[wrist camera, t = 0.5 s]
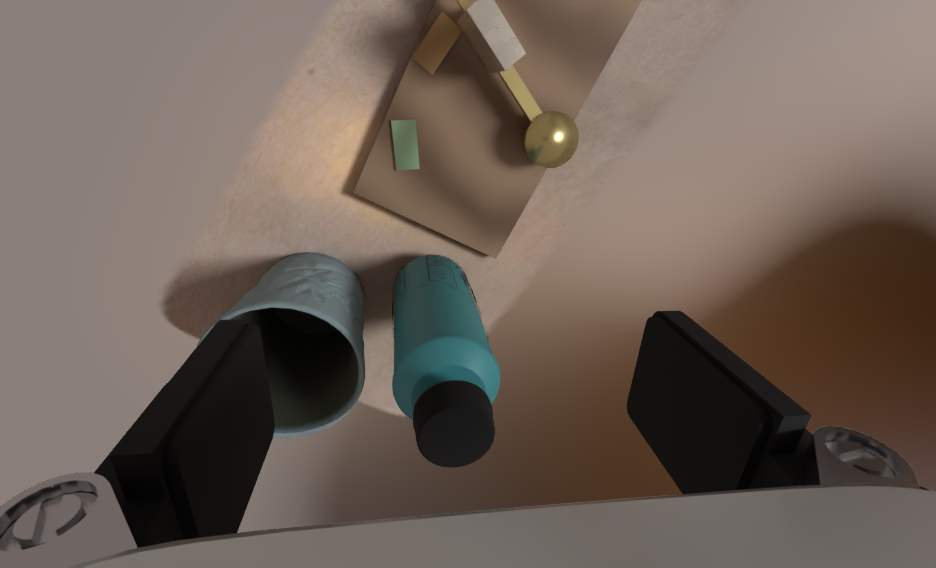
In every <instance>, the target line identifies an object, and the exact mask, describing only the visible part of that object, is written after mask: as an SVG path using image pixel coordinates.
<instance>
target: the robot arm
mask: <svg viewBox="0 0 936 568" xmlns="http://www.w3.org/2000/svg"><path fill="white" fill-rule="evenodd" d="M627 411H628V414H629V416H630V418H631V420H632V421H633V422H634V424H635V425H636V427H637V428H638V430H639V431H640V433H641V434H642V436H643V437H644V439H645V440H646V441H647V443H648V444H649V446H650V447H651V449H652V450H653V452H654V453H655V454H656V456H657V457H658V459H659V460H660V462H661V463H662V465H663V466H664V467H665V469H666V470H667V472H668V473H669V475H670V476H671V477H672V479H673V480H674V482H675V483H676V485H677V486H678V488H679V489H680V490H681V492H682V494H679V495H667V496H655V497H654V496H653V497H640V498H627V499H615V500H602V501H590V502H578V503H566V504H553V505H541V506H529V507H518V508H507V509H494V510H483V511H470V512H458V513H449V514H436V515H425V516H413V517H403V518H392V519H380V520H369V521H357V522H346V523H335V524H324V525H313V526H302V527H291V528H280V529H269V530H259V531H250V532H242V533H237V531H238V529H239V526H240V523H241V521H242V518H243V515H244V513H245V510H246V508H247V505H248V502H249V499H250V497H251V494H252V492H253V489H254V486H255V484H256V481H257V478H258V476H259V473H260V470H261V468H262V465H263V462H264V460H265V457H266V454H267V452H268V449H269V446H270V444H271V441H272V439H273V435H274V430H275V419H274V413H273V406H272V400H271V394H270V388H269V382H268V375H267V369H266V363H265V357H264V351H263V344H262V338H261V332H260V328H259V326H257V325H251V323H250V321H249V320H248V319H232V320H219V321H218V322H217V323H216V324H215V325H214V327H213V328H212V329H211V330H210V332H209V333H208V334H207V335H206V336H205V338H204V339H203V340H202V341H201V343H200V344H199V345H198V346H197V348H196V349H195V350H194V351H193V353H192V354H191V355H190V356H189V358H188V359H187V360H186V361H185V363H184V364H183V365H182V366H181V368H180V369H179V370H178V371H177V373H176V374H175V375H174V376H173V378H172V379H171V380H170V381H169V382H168V383H167V384H166V385H165V386H164V387H163V388H162V389H161V391H160V392H159V393H158V394H157V396H156V397H155V398H154V399H153V401H152V402H151V403H150V404H149V406H148V407H147V408H146V409H145V411H144V412H143V413H142V414H141V416H140V417H139V418H138V419H137V421H136V422H135V423H134V424H133V425H132V427H131V428H130V429H129V430H128V431H127V433H126V434H125V435H124V436H123V438H122V439H121V440H120V441H119V443H118V444H117V445H116V446H115V448H114V449H113V450H112V451H111V452H110V454H109V455H108V456H107V457H106V459H105V460H104V461H103V462H102V464H101V465H100V466H99V467H98V469H97V470H96V471H95V472H94V473H74V474H68V475H64V476H59V477H56V478H53V479H50V480H47V481H45V482H42V483H39V484H37V485H35V486H33V487H31V488H29V489H27V490H25V491H23V492H21V493H19V494H18V495H16V496H15V497H13V498H12V499H10V500H9V501H7V502H6V503H5V504H3V505H2V506H0V568H936V491H931V490H928V489H926V488H923V487H920V486H919V484H918V481H917V479H916V476H915V474H914V471H913V469H912V468H911V466H910V465H909V463H908V462H907V461H906V460H905V459H904V458H903V457H902V456H901V455H900V454H898V453H897V452H896V451H894V450H893V449H891V448H890V447H889V446H887V445H886V444H884V443H882V442H880V441H878V440H876V439H874V438H872V437H871V436H868V435H866V434H863V433H860V432H858V431H855V430H851V429H847V428H843V427H837V426H824V427H820V428H818V429H817V430H816V431H815V432H814V434H813V435H812V434H811V433H810V432H808V431H807V430H806V429H805V428H806V426H807V423H808V421H809V419H810V417H811V414H809V413H808V412H807V411H806V410H804V409H803V408H802V407H801V406H799V405H798V404H797V403H796V402H794V401H793V400H792V399H791V398H789V397H788V396H787V395H786V394H784V393H783V392H782V391H780V390H779V389H778V388H777V387H776V386H774V385H773V384H772V383H771V382H769V381H768V380H767V379H766V378H764V377H763V376H762V375H761V374H759V373H758V372H757V371H756V370H754V369H753V368H752V367H751V366H749V365H748V364H747V363H746V362H744V361H743V360H742V359H741V358H739V357H738V356H737V355H736V354H734V353H733V352H732V351H731V350H729V349H728V348H727V347H725V346H724V345H723V344H722V343H720V342H719V341H718V340H717V339H716V338H714V337H713V336H711V335H710V334H709V333H708V332H707V331H705V330H704V329H703V328H702V327H701V326H699V325H698V324H697V323H696V322H694V321H693V320H692V319H690V318H689V317H688V316H687V315H685V314H684V313H683V312H681V311H657V312H656V313H654V315H653V316H652V317H650V318H648V320H647V322H646V326H645V330H644V334H643V338H642V342H641V346H640V350H639V355H638V359H637V363H636V367H635V371H634V375H633V380H632V384H631V388H630V393H629V396H628V401H627Z"/></svg>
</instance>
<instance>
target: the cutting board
mask: <svg viewBox="0 0 936 568" xmlns="http://www.w3.org/2000/svg"><path fill="white" fill-rule="evenodd" d="M467 1H468V2H469V4H470V6H471V5H473V4H474V3H475V2H476V1H477V0H467ZM494 1H495V2H496V4H497V6H498V7H499V9H500V11H501V12H502V14H503V16H504V17H505V19H506V21H507V22H508V24H509V26H510V27H511V29H512V30H513V32H514V34H515V35H516V37H517V39H518V40H519V42H520V44H521V45H522V47H523V49H524V50H525V52H526V54H525V55H524V56H522V57H521V58H520V59H519V60H518V61H516V62H515V63H514V64H513V66H514V68H515V70H516V71H517V73H518V74H519V76H520V78H521V79H522V81H523V82H524V84H525V86H526V87H527V89H528V90H529V92H530V94H531V95H532V97H533V98H534V100H535V102H536V103H537V105H538V106H539V108H540V110H541V111H542V112H545V111H557V112H562V113H564V114H566V115H568V116H569V117H570V118H571V119H572V120H573V121H574V120H575V118H576V116H577V114H578V112H579V111H580V109H581V107H582V105H583V104H584V102H585V100H586V98H587V96H588V95H589V93H590V91H591V89H592V88H593V86H594V84H595V82H596V81H597V79H598V77H599V75H600V73H601V72H602V70H603V68H604V66H605V65H606V63H607V61H608V59H609V57H610V56H611V54H612V52H613V50H614V49H615V47H616V45H617V43H618V42H619V40H620V38H621V36H622V34H623V33H624V31H625V29H626V27H627V26H628V24H629V22H630V20H631V18H632V17H633V15H634V13H635V11H636V10H637V8H638V6H639V4H640V3H641V1H642V0H494ZM463 14H464V13H463V11H462V9H461V8H460V6H459V5H458V3H457V2H456V0H435V2H434V5H433V7H432V9H431V12H430V14H429V16H428V19H427V21H426V23H425V26H424V28H423V30H422V33H421V35H420V37H419V40H418V42H417V44H416V47H415V49H414V51H413V54H412V56H411V58H410V61H409V63H408V65H407V68H406V70H405V72H404V75H403V77H402V79H401V82H400V84H399V86H398V89H397V91H396V93H395V96H394V98H393V100H392V103H391V105H390V107H389V110H388V112H387V115H386V117H385V119H384V122H383V124H382V126H381V129H380V131H379V133H378V136H377V138H376V140H375V143H374V145H373V147H372V150H371V152H370V154H369V157H368V159H367V161H366V164H365V166H364V168H363V171H362V173H361V175H360V178H359V180H358V182H357V185H356V187H355V189H354V192H353V193H354V194H357V195H359V196H361V197H363V198H365V199H367V200H370V201H372V202H374V203H376V204H378V205H380V206H383V207H385V208H387V209H389V210H391V211H393V212H396V213H398V214H400V215H402V216H404V217H406V218H409V219H411V220H413V221H415V222H417V223H419V224H422V225H424V226H426V227H428V228H430V229H432V230H435V231H437V232H439V233H441V234H443V235H445V236H448V237H450V238H452V239H454V240H456V241H458V242H461V243H463V244H465V245H467V246H469V247H471V248H474V249H476V250H478V251H480V252H482V253H484V254H487V255H489V256H491V257H493V258H495V259H496V258H497V256H498V254H499V252H500V251H501V249H502V247H503V245H504V244H505V242H506V240H507V238H508V237H509V235H510V233H511V231H512V229H513V228H514V226H515V224H516V222H517V221H518V219H519V217H520V215H521V213H522V212H523V210H524V208H525V206H526V205H527V203H528V201H529V199H530V198H531V196H532V194H533V192H534V190H535V189H536V187H537V185H538V183H539V182H540V180H541V178H542V176H543V174H544V173H545V171H546V169H547V168H546V167H542V166H540V165H538V164H536V163H534V162H533V161H531V160H530V159H529V158H528V156H527V155H526V153H525V151H524V147H523V134H524V131H525V128H526V126H527V124H528V123H529V121H528V119H527V118H526V116H525V114H524V113H523V111H522V110H521V108H520V107H519V105H518V104H517V102H516V100H515V99H514V97H513V96H512V94H511V93H510V91H509V90H508V88H507V87H506V85H505V83H504V82H503V80H502V79H501V77H500V76H499V74H498V73H492V74H490V72H489V71H488V69H487V68H486V66H485V65H484V63H483V61H482V60H481V58H480V57H479V55H478V54H477V52H476V51H475V49H474V48H473V46H472V45H471V43H470V42H469V40H468V39H467V37H466V35H465V34H464V32H463V31H462V29H461V28H460V26H459V25H458V23H457V22H458V20H459V19H460V18H461V16H462V15H463Z"/></svg>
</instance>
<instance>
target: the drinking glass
mask: <svg viewBox="0 0 936 568" xmlns="http://www.w3.org/2000/svg"><path fill="white" fill-rule="evenodd" d="M363 307H364V300H363V292H362V288H361V285H360V283H359V281H358V279H357V277H356V276H355V275H354V273H353V272H352V271H351V270H350V269H349V268H348V267H347V266H346V265H345V264H343V263H342V262H340V261H339V260H337V259H335V258H333V257H331V256H328V255H325V254H320V253H310V252H309V253H299V254H295V255H290V256H288V257H286V258H284V259H282V260H281V261H279V262H278V263H276V264H275V265H274V266H273V267H272V268H271V269H270V270H269V271H268V272H267V273H265V274H264V275H263V276H262V278H261V279H260V281H259V282H258V284H257V285H256V286H255V287H253V288H252V289H251V290H249V291H248V293H246V294H245V295H244V296H243V297H242V298H241V299H240V300H239V301H238V302H237V304H236V305H235V306H234V307H232V308H231V309H230V310H228V311H227V312H226V313H225V314H224V315H223V316H221V317H220V318H219V319H218V320H217V321H216V322H215V323H214V324H213V325H212V326H211V327H210V328H209V329H208V330H207V331H206V332H205V334H204V335H203V336H202V338H201V339H200V341H199V343H198V345H199V344H200V343H201V341H202V340H203V339H204V338H205V336H206V335H207V334H208V333H209V332H210V330H211V329H212V328H213V327H214V325H215V324H216V323H217V322H218V321H219V320H232V319H248V320H249V321H250V323H251V325H257V326H259V328H260V332H261V338H262V344H263V351H264V357H265V363H266V369H267V375H268V382H269V388H270V394H271V400H272V406H273V413H274V419H275V430H274V435H273V438H292V437H300V436H304V435H308V434H312V433H316V432H318V431H322V430H324V429H326V428H328V427H330V426H332V425H334V424H335V423H337V422H338V421H340V420H341V419H342V418H343V417H344V416H345V415H346V414H347V413H348V412H350V411H351V409H352V408H353V406H354V405H355V404H356V402H357V400H358V398H359V396H360V394H361V392H362V389H363V385H364V380H365V360H364V341H363V332H362V331H363V329H364V326H363V324H364V320H363ZM198 345H197V346H198Z"/></svg>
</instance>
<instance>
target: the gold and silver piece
mask: <svg viewBox="0 0 936 568" xmlns="http://www.w3.org/2000/svg"><path fill="white" fill-rule="evenodd" d="M456 2H457V3H458V5H459V6H460V8H461V9H462V11H463V13H464V14H463V15H462V16H461V18H460V19H459V20H458V22H457V23H458V25H459V26H460V28H461V29H462V31H463V32H464V34H465V35H466V37H467V39H468V40H469V42H470V43H471V45H472V46H473V48H474V49H475V51H476V52H477V54H478V55H479V57H480V58H481V60H482V61H483V63H484V65H485V66H486V68H487V69H488V71H489V72H490V74H492V73H498V74H499V76H500V77H501V79H502V80H503V82H504V83H505V85H506V87H507V88H508V90H509V91H510V93H511V94H512V96H513V97H514V99H515V100H516V102H517V104H518V105H519V107H520V108H521V110H522V111H523V113H524V114H525V116H526V118H527V119H528V121H529V123H528V124H527V126H526V128H525V131H524V134H523V147H524V151H525V153H526V155H527V156H528V158H529V159H530V160H531V161H533V162H534V163H536V164H538V165H540V166H542V167H546V168H554V167H558V166H561V165H562V164H564V163H566V162H567V161H568V160H569V159H570V158H571V157H572V155H573V154H574V152H575V150H576V148H577V144H578V130H577V127H576V125H575V123H574V121H573V120H572V119H571V118H570V117H569V116H568V115H566V114H564V113H562V112H557V111H545V112H542V111H541V110H540V108H539V106H538V105H537V103H536V102H535V100H534V98H533V97H532V95H531V94H530V92H529V90H528V89H527V87H526V86H525V84H524V82H523V81H522V79H521V78H520V76H519V74H518V73H517V71H516V70H515V68H514V66H513V64H514V63H515V62H516V61H518V60H519V59H520V58H521V57H522V56H524V55H525V54H526V52H525V50H524V49H523V47H522V45H521V44H520V42H519V40H518V39H517V37H516V35H515V34H514V32H513V30H512V29H511V27H510V26H509V24H508V22H507V21H506V19H505V17H504V16H503V14H502V12H501V11H500V9H499V7H498V6H497V4H496V2H495V1H494V0H477V1H476V2H475V3H474V4H473V5H471V6H470V4H469V2H468V1H467V0H456Z"/></svg>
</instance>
